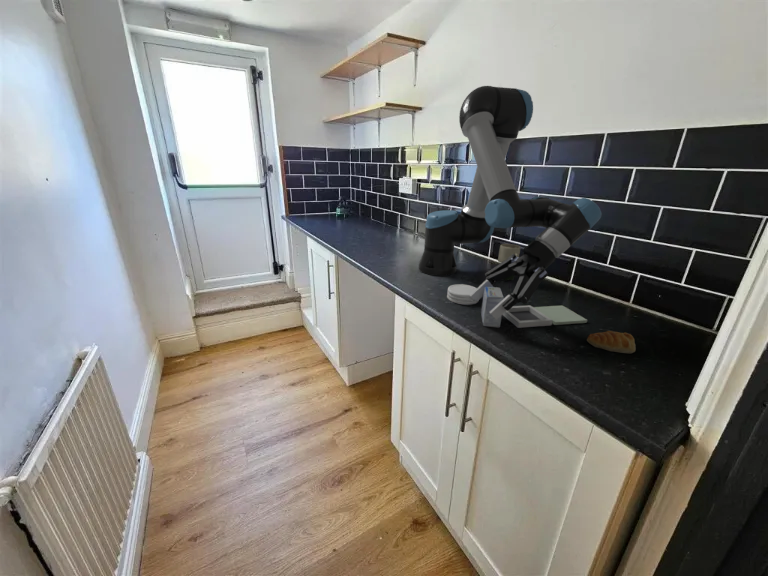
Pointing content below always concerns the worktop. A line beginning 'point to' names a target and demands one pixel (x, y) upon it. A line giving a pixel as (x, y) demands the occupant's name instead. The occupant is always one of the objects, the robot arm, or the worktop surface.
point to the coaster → (461, 294)
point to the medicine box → (491, 306)
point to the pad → (561, 315)
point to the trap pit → (527, 317)
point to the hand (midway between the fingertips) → (482, 306)
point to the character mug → (508, 254)
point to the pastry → (613, 341)
